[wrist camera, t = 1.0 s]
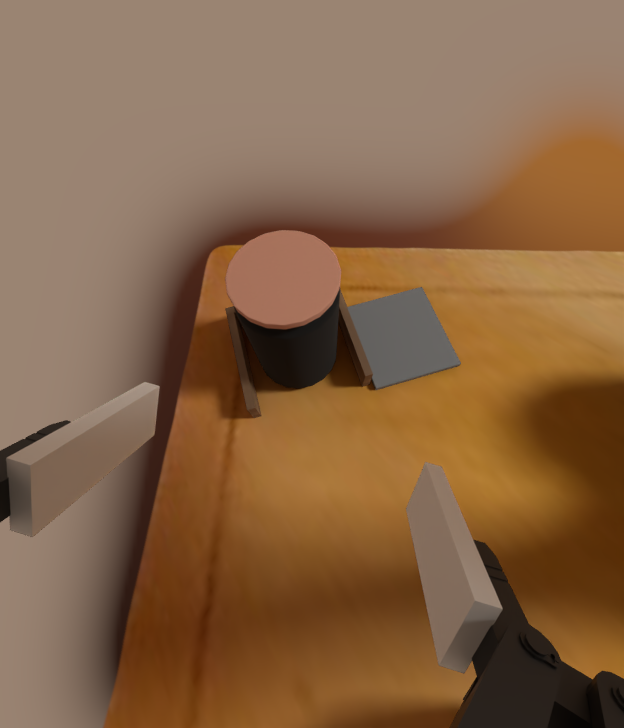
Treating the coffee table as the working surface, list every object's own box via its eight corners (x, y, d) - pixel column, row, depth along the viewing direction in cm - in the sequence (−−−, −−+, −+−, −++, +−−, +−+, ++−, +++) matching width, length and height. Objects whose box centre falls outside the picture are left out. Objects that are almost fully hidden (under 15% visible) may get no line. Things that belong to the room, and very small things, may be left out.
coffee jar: (350, 344, 47) (363, 257, 30) (310, 405, 44) (299, 346, 27) (288, 310, 49) (269, 214, 33) (246, 366, 46) (200, 290, 30)
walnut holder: (335, 295, 50) (336, 279, 46) (369, 384, 44) (373, 373, 41) (233, 323, 49) (225, 308, 45) (253, 418, 43) (247, 410, 40)
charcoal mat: (420, 290, 50) (421, 286, 49) (458, 365, 45) (460, 363, 44) (344, 310, 49) (345, 307, 48) (375, 390, 44) (376, 388, 43)
